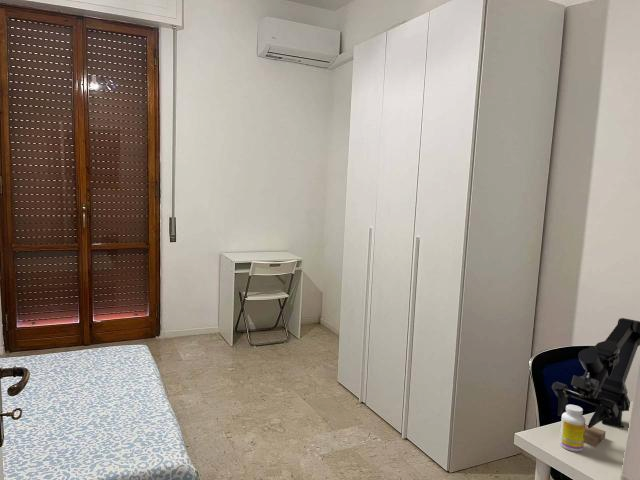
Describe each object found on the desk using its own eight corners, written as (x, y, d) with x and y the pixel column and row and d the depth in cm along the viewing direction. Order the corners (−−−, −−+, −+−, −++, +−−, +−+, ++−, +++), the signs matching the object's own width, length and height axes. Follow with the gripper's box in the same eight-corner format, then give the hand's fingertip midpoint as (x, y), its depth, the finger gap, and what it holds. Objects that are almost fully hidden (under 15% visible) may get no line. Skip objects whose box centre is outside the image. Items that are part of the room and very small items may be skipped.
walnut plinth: (577, 428, 158) (578, 421, 158) (604, 438, 152) (605, 431, 152) (567, 436, 153) (567, 428, 153) (595, 447, 147) (595, 439, 146)
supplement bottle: (586, 453, 143) (589, 413, 141) (563, 450, 144) (566, 411, 143) (578, 442, 149) (582, 404, 148) (556, 439, 150) (559, 401, 149)
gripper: (556, 357, 155) (536, 396, 149) (618, 376, 140) (598, 420, 134) (566, 375, 160) (547, 414, 155) (626, 395, 145) (607, 439, 140)
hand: (573, 421), depth 146 cm, fingers open, 9 cm apart
